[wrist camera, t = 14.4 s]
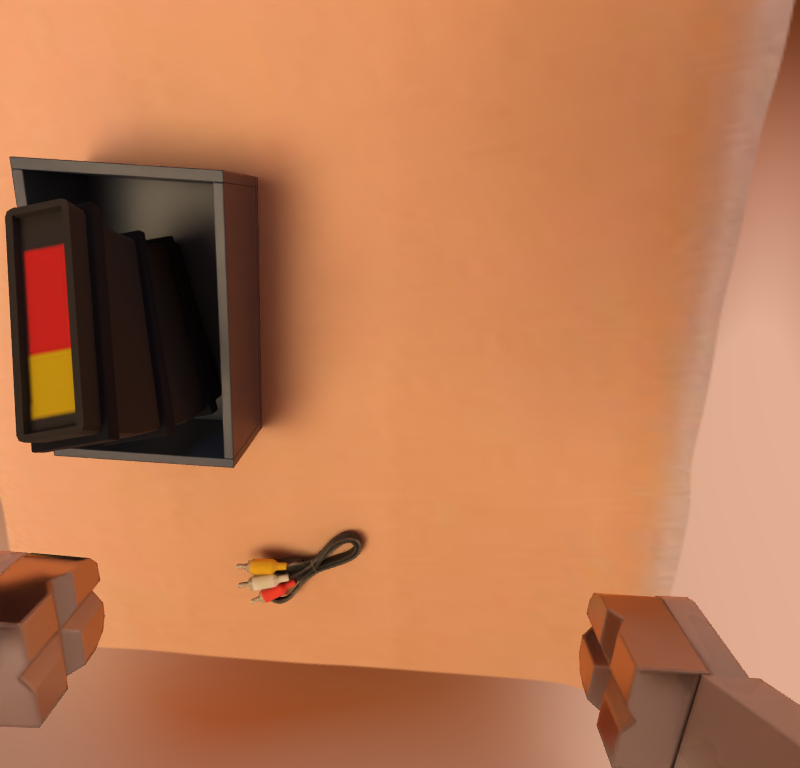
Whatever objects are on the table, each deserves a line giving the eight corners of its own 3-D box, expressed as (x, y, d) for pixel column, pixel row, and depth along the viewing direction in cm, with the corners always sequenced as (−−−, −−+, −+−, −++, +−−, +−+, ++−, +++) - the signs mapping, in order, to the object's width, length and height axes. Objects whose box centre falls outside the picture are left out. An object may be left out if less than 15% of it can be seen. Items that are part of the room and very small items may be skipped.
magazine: (183, 453, 38) (9, 452, 23) (166, 274, 40) (-5, 168, 25) (235, 444, 38) (92, 439, 23) (215, 265, 39) (71, 152, 25)
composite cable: (357, 525, 42) (353, 543, 40) (374, 575, 43) (372, 596, 41) (239, 552, 43) (228, 572, 41) (259, 600, 44) (251, 622, 42)
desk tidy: (82, 165, 34) (8, 156, 28) (257, 177, 34) (223, 170, 28) (110, 417, 40) (53, 456, 33) (262, 427, 40) (234, 468, 33)
